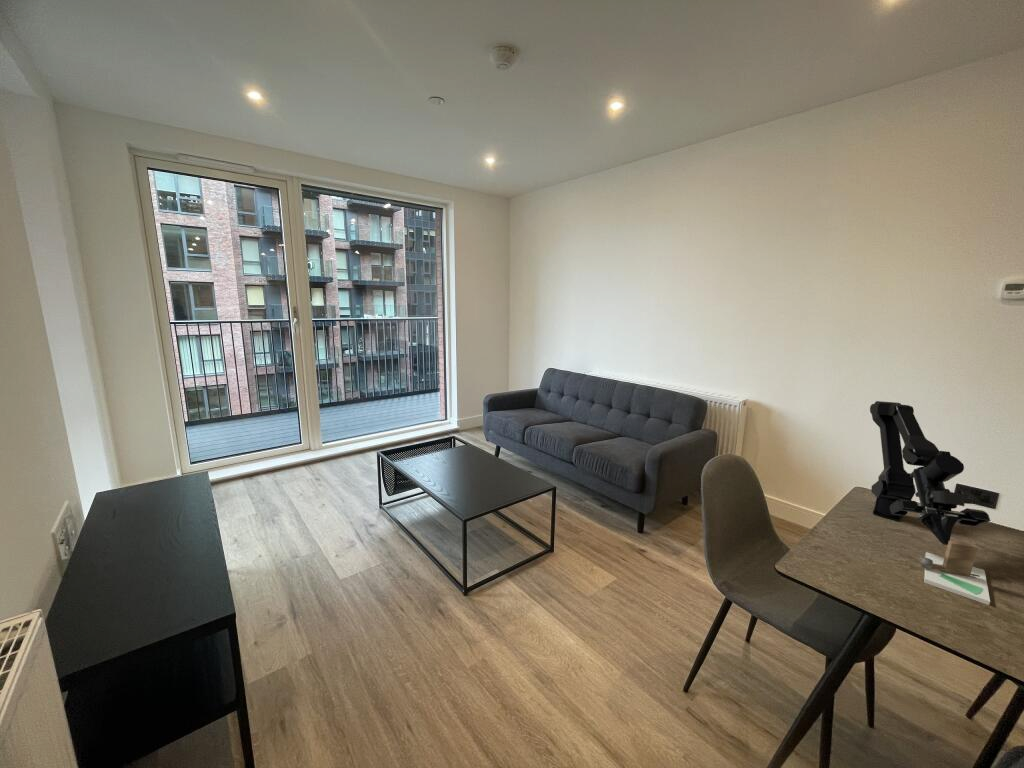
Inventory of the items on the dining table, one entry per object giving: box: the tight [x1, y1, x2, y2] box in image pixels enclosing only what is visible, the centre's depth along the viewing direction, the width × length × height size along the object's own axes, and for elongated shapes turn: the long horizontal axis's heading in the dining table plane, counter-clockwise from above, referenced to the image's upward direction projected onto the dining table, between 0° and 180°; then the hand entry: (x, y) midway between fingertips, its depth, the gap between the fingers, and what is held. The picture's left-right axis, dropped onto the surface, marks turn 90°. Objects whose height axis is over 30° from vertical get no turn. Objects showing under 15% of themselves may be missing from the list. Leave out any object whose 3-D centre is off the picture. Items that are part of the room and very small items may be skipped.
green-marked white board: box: [923, 551, 991, 606], centre depth 105 cm, size 11×16×1 cm
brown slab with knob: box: [920, 540, 980, 577], centre depth 105 cm, size 12×2×8 cm, turn 70°
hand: (945, 544), depth 108 cm, fingers closed
